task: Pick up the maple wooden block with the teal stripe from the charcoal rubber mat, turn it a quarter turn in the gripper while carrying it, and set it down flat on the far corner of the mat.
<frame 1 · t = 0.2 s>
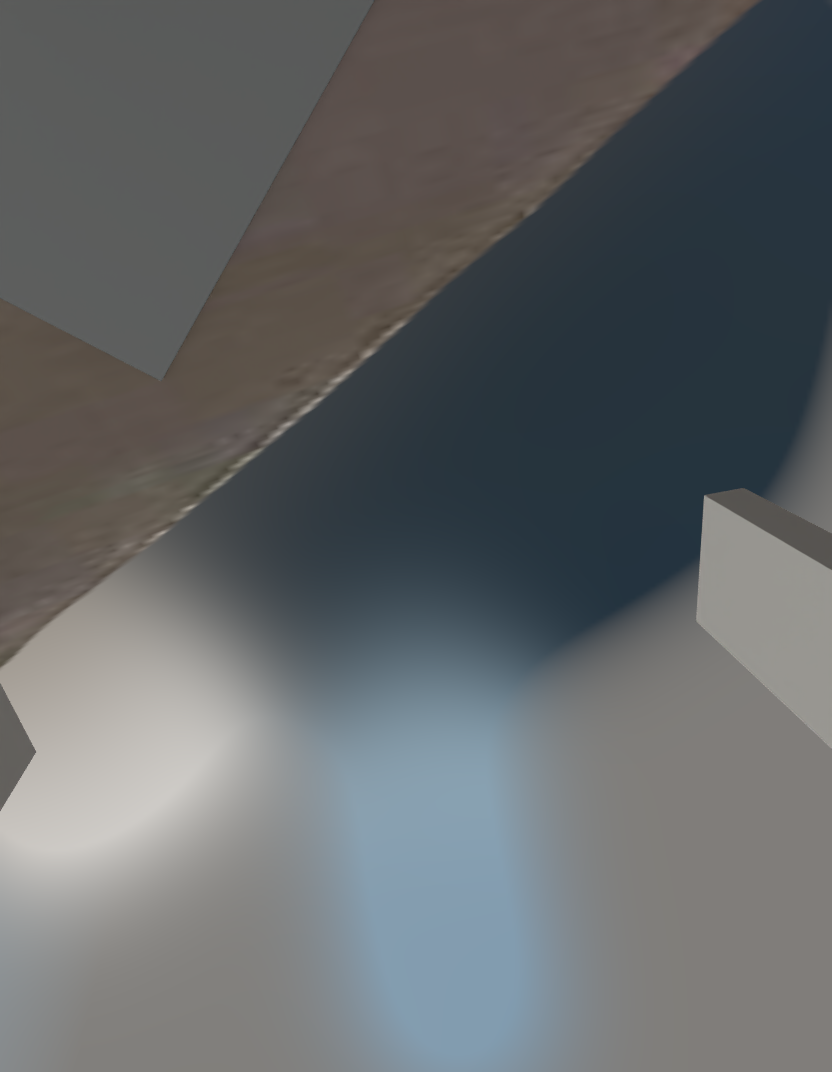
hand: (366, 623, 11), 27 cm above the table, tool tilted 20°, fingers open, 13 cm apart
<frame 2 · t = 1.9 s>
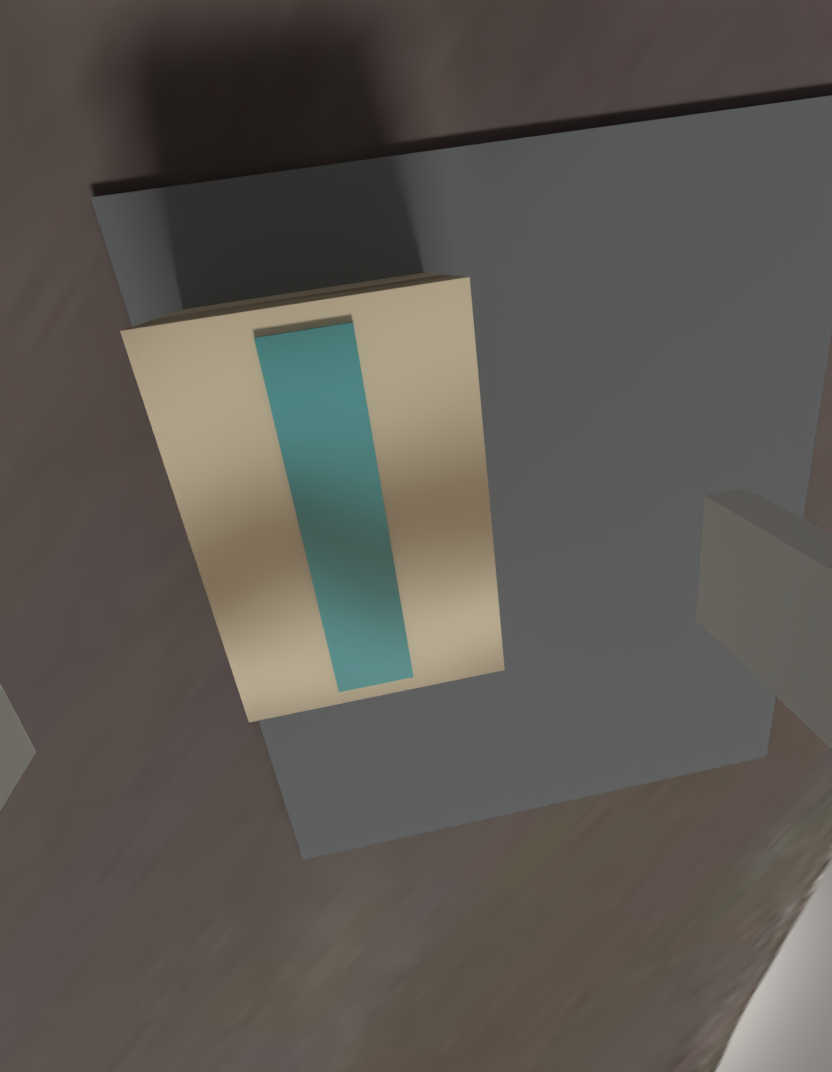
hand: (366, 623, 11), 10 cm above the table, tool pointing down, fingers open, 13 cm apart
maple block: (337, 455, 20), resting on rubber mat
rubber mat: (523, 553, 22), on the table
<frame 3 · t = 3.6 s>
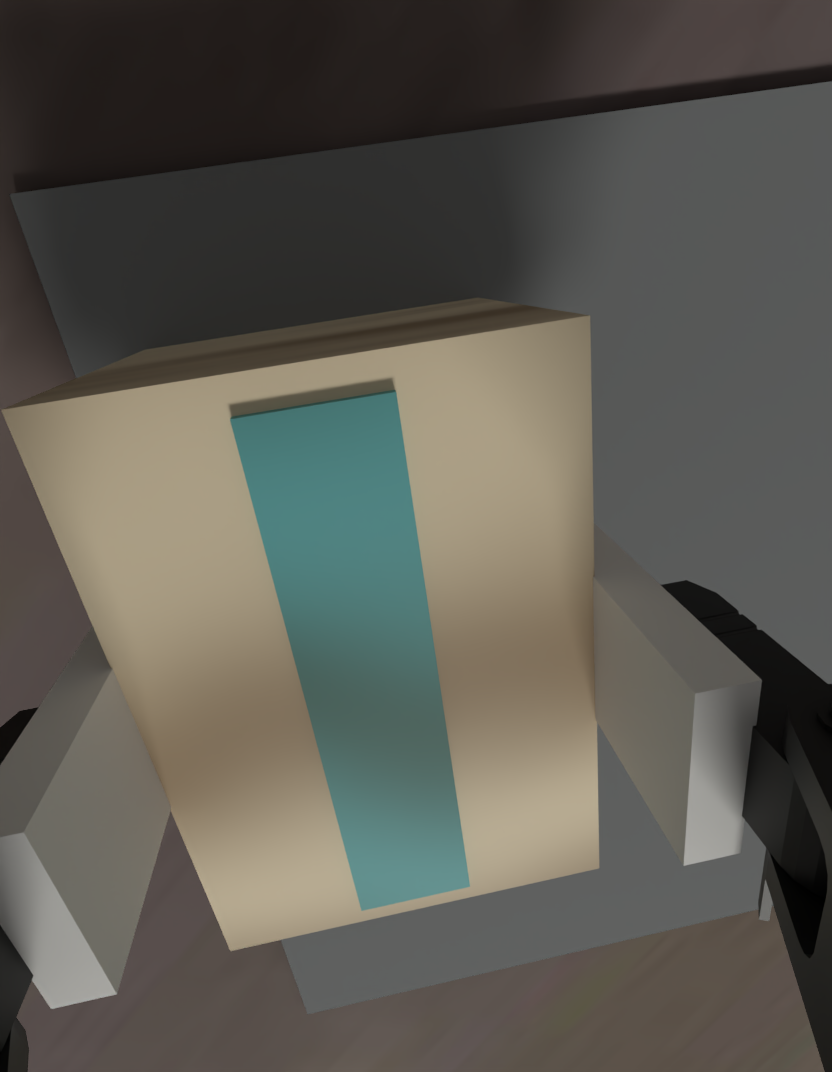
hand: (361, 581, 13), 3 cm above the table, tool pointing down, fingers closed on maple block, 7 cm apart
maple block: (356, 538, 15), resting on rubber mat, touching gripper
rubber mat: (593, 653, 17), on the table
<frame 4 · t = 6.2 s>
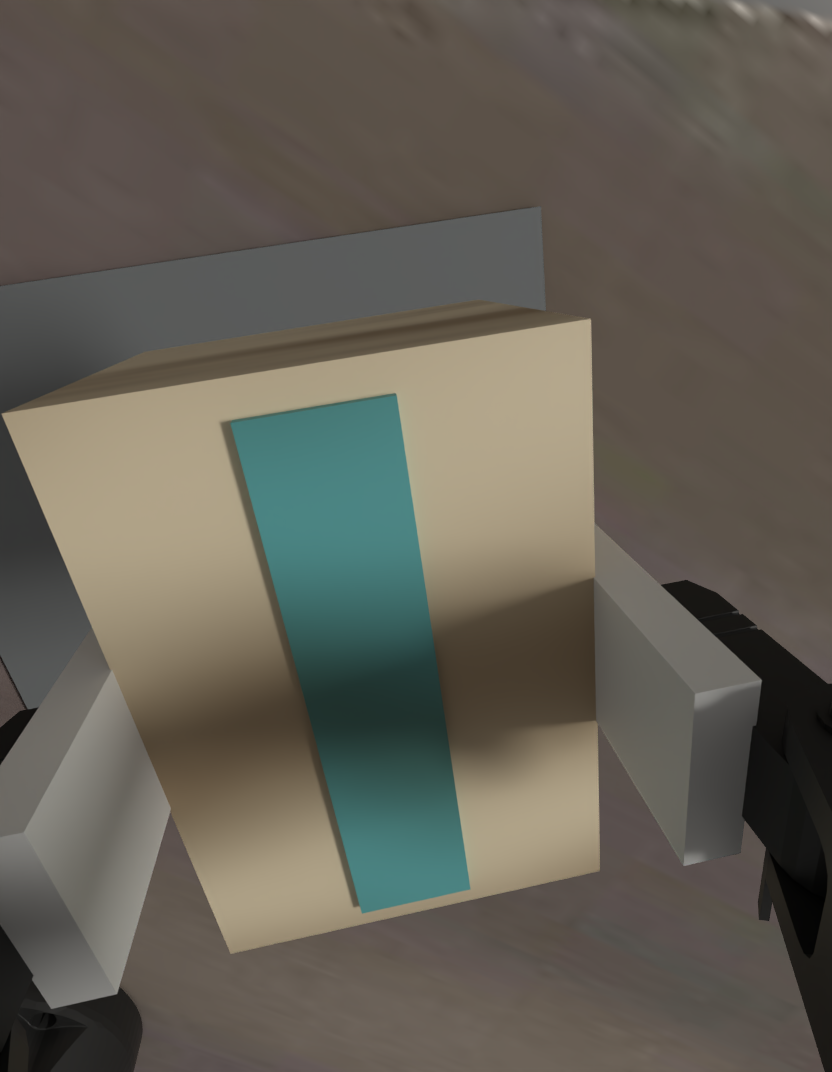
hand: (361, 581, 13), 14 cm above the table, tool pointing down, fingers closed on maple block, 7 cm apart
maple block: (357, 540, 15), point 12 cm above the table, touching gripper
rubber mat: (269, 526, 27), on the table
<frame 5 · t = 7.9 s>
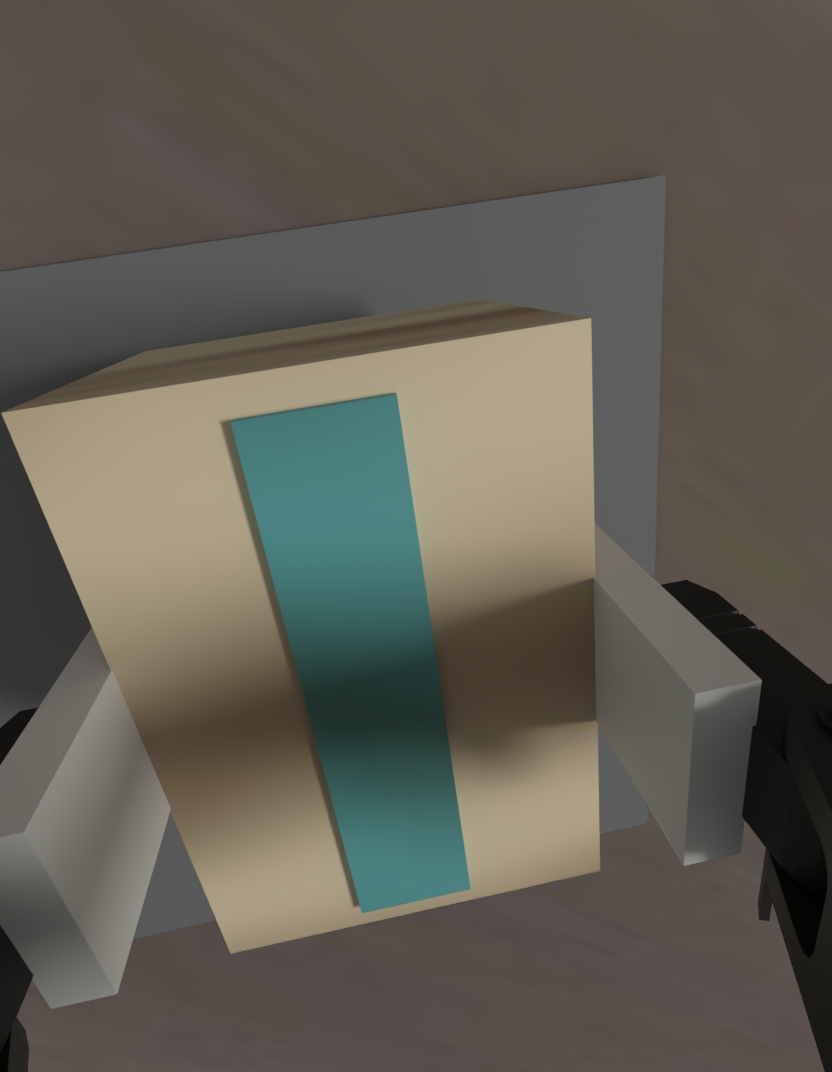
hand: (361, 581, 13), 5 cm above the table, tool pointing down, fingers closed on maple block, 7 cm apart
maple block: (357, 540, 15), point 3 cm above the table, touching gripper
rubber mat: (242, 650, 18), on the table
when the fingers open (4 cm above the table, at t = 9.0 s): maple block stays where it is, resting on rubber mat.
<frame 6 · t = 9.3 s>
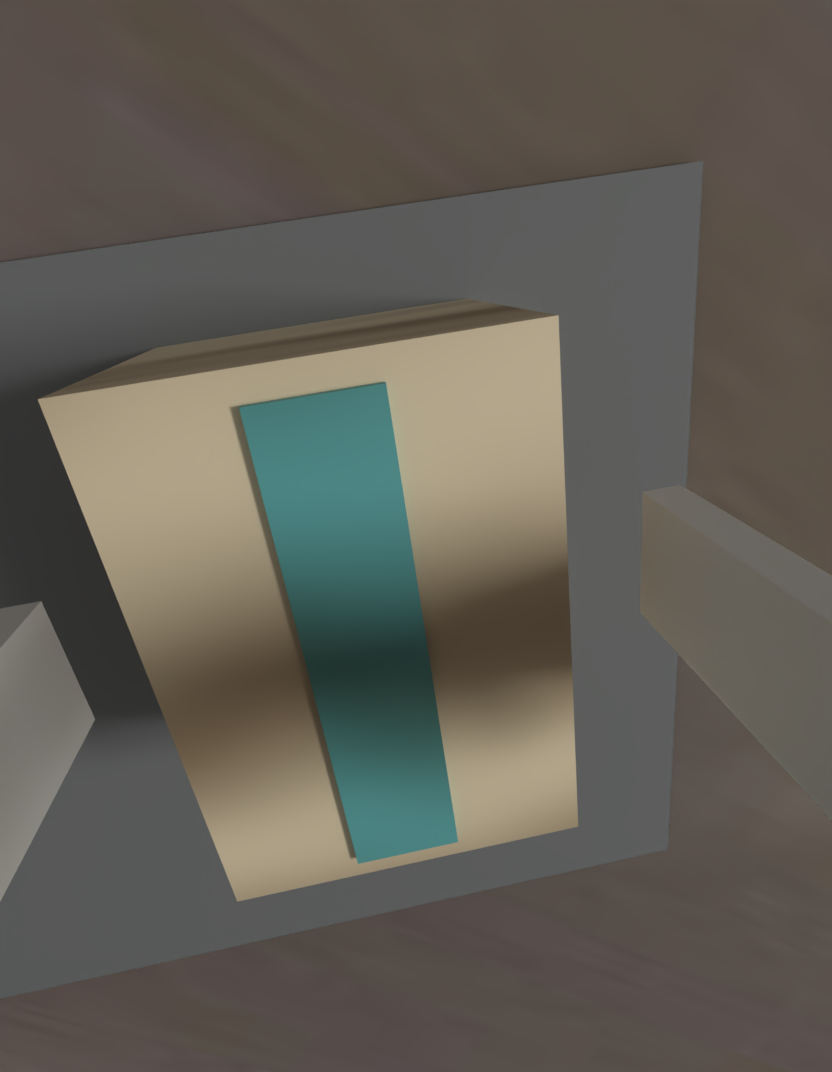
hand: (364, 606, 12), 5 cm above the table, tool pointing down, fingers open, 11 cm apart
maple block: (354, 525, 16), resting on rubber mat
rubber mat: (240, 672, 17), on the table
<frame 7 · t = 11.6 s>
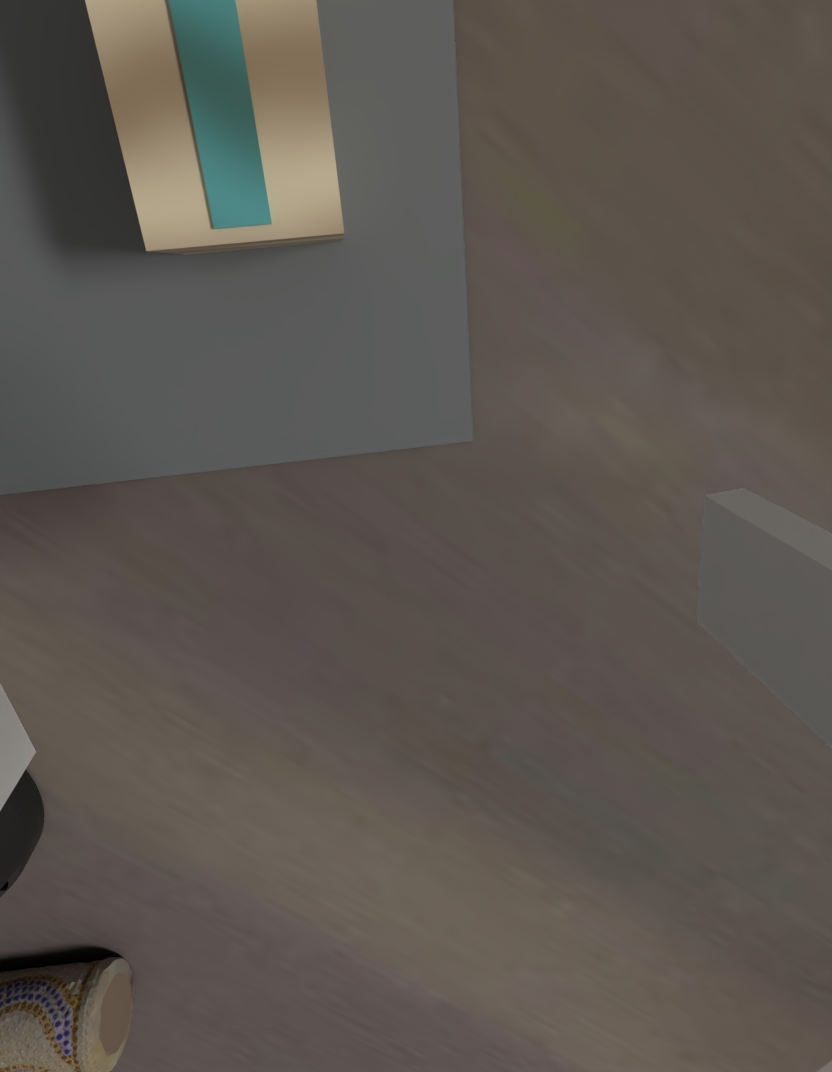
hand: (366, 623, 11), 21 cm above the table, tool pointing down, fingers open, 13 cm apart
maple block: (242, 113, 25), resting on rubber mat
rubber mat: (170, 229, 27), on the table
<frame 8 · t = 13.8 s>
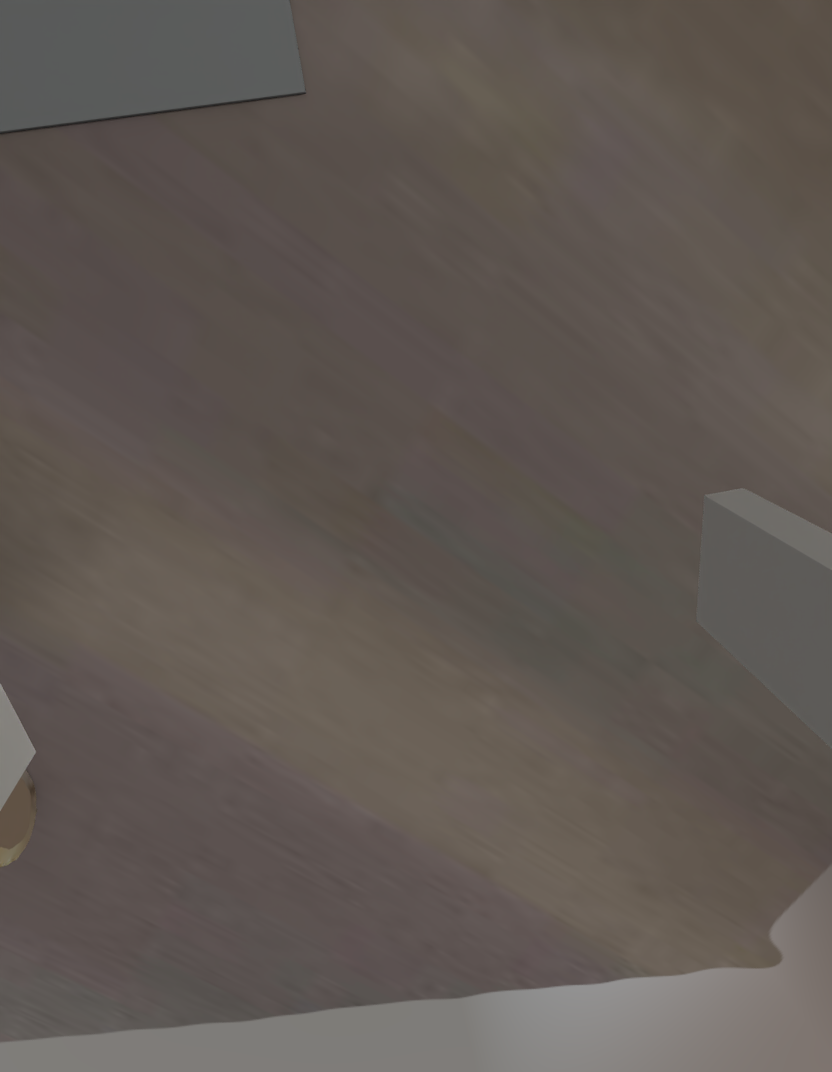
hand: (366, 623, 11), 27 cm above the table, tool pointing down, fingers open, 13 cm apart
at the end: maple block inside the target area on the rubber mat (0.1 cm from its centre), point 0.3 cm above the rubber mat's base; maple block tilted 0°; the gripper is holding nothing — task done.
